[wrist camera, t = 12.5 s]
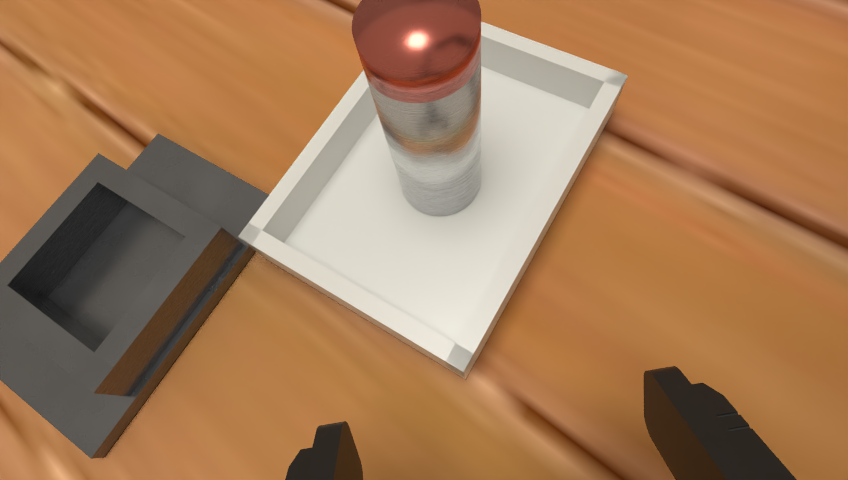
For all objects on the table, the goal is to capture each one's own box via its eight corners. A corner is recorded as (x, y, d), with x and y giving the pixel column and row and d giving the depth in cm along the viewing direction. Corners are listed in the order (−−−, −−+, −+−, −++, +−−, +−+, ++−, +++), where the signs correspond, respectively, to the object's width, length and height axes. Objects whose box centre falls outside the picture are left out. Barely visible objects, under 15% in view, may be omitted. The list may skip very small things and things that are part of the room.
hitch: (166, 141, 28) (131, 109, 25) (287, 208, 25) (263, 181, 22) (-16, 354, 24) (-81, 345, 21) (104, 457, 22) (49, 461, 19)
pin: (428, 134, 25) (397, -42, 16) (495, 166, 24) (505, -5, 15) (385, 193, 24) (326, 41, 15) (454, 229, 23) (436, 89, 14)
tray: (423, 40, 28) (417, -2, 26) (611, 114, 25) (627, 75, 22) (265, 258, 24) (237, 236, 22) (465, 379, 21) (463, 372, 18)
